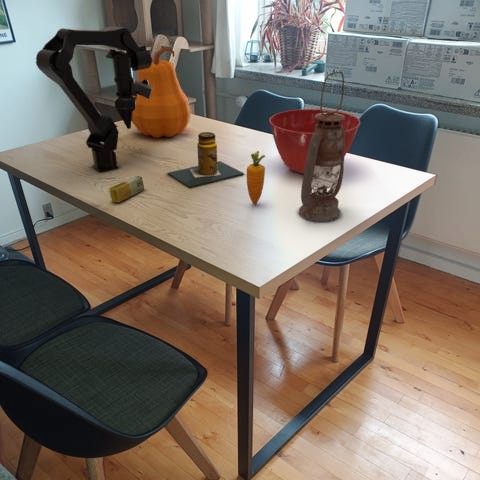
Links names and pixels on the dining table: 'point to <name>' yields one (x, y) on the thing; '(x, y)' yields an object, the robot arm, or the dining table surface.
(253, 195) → the carrot
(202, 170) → the condiment
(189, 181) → the placemat
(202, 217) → the dining table surface
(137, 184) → the medication box
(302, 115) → the mixing bowl
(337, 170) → the lantern
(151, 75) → the decorative pumpkin
